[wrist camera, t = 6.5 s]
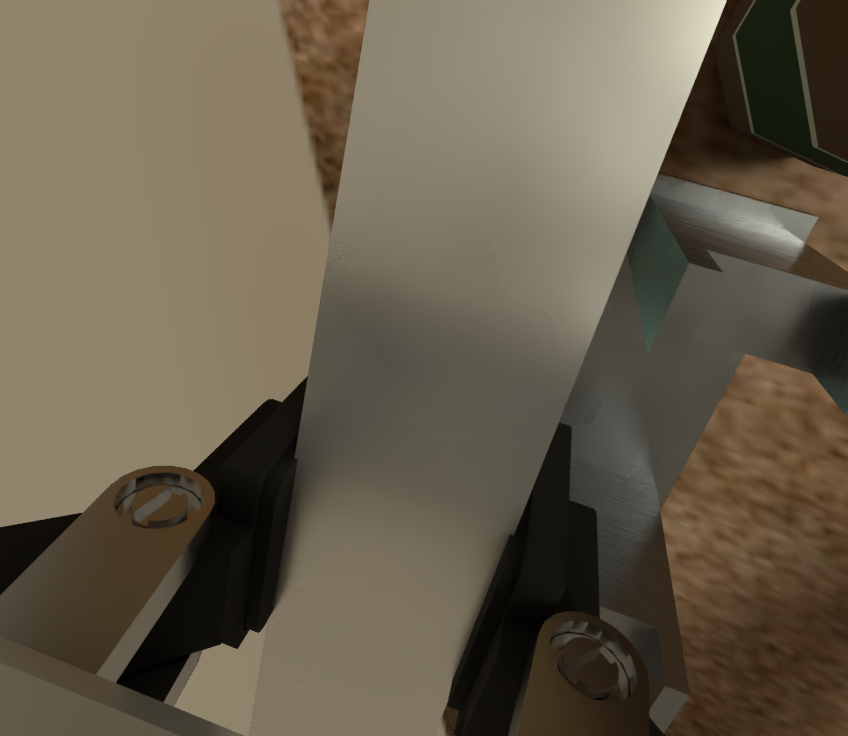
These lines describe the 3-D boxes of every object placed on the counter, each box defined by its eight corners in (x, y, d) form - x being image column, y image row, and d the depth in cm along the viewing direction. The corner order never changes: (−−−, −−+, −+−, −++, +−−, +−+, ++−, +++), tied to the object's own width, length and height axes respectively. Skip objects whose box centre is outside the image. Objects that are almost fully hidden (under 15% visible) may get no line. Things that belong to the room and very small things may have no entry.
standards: (811, 213, 24) (999, 313, 13) (643, 529, 31) (670, 760, 20) (637, 166, 25) (674, 221, 14) (516, 484, 32) (476, 683, 21)
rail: (714, -68, 7) (795, -171, 4) (406, 758, 15) (366, 904, 12) (472, -122, 7) (411, -250, 5) (293, 712, 15) (230, 845, 12)
